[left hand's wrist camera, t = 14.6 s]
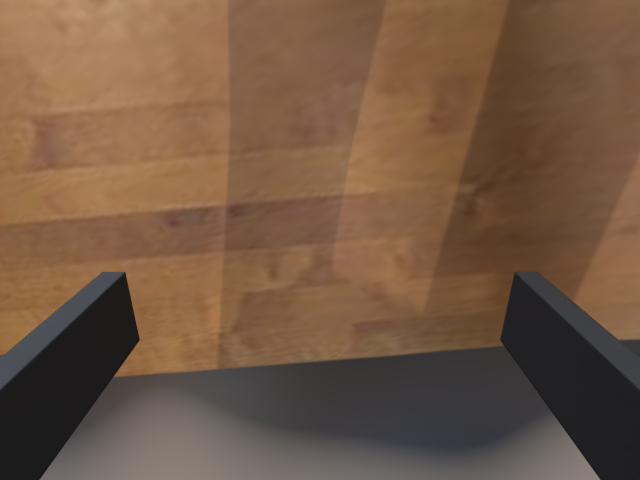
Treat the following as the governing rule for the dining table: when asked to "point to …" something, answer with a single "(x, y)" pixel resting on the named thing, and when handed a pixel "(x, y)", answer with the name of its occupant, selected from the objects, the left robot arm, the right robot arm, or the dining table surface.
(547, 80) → the dining table surface
